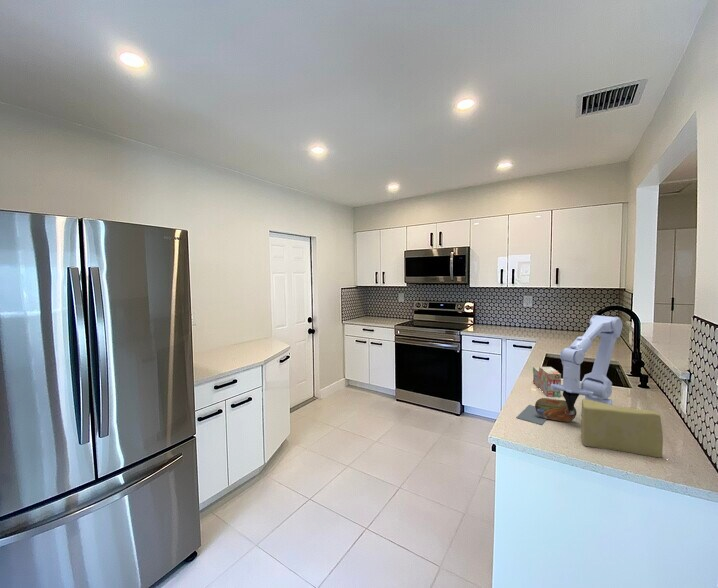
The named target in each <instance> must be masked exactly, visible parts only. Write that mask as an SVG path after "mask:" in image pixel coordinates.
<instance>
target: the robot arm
mask: <svg viewBox="0 0 718 588" xmlns="http://www.w3.org/2000/svg"><path fill="white" fill-rule="evenodd" d="M623 326H624V325H623V321H622V319H621V318H620V317H618V316H607V315H606V316H605V315H598V314H594V315H592V317H590V319H589V326H588V328H587V329H586V331H585V332H584V333H583V334H582V336H577V337H576V339H574V341H572V343H571V344H570V345H569V346H568V347H565V348H563V349H562V350H561V351H560V354H559V358H560V360H561V364H562V369H563V370H562V384H561V385H557V384H551V385H550V389H552V390H554V389H555V390H559V391H560V392H562V396H563V399H564V401H566V403H567V406H568V410H569V411H573V408H574V407H575V404H576V401H577V400H578V398H579V397H580V396H584V399H588V400H592V401H596V402H601V403H605V404H609V405H613V400H612V399H611V398H610V397H611V395H612V391H613V382H612V381H611V380H610V379H609V378H608V376H607V373H608V370H609V367H610V364H611V359H612V356H613V351H614V350H615V349H614V348H615V345H616V342H617V339H619V338H620V337H621V335H622V334H621V333H622V329H623ZM597 336H599V338H600V340H599V345H598V348H597V352H596V354H595V355H596V356H595V358H594V363H593V366H592V369H591V372H589V373H586V374H584V376H583V377H582V380H581V364H582V363H583V362H584V359H585V356H586V353H587V352H588V351H589V350H590V348H591V347H592V345H593V343H592V341H593V340H594V339H595V338H597Z"/></svg>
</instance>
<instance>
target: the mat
mask: <svg viewBox="0 0 718 588" xmlns="http://www.w3.org/2000/svg"><path fill="white" fill-rule="evenodd" d="M516 419H519V420H520V421H521V420H522V421H525V422H529V423H532V424H536V425H540V426H543V425H544V423H545V422H546V421H547V420H548V419H545V418H542V417H541V416H539V415H538V413H537V412H536V409H535V405H532V404H528V405H527V406H526V407H525V408H524V409H523V410H522V411H521V412H520V413H519V414H518V415H517V416H516Z"/></svg>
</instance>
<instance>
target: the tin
mask: <svg viewBox="0 0 718 588" xmlns="http://www.w3.org/2000/svg"><path fill="white" fill-rule="evenodd" d="M534 406H535V409H536V412H537V413H538V415H539V416H541V417H542V418H545V419H547V420H554V421H558V422H559V421H560V422H568V423H569V422H572V421H573V420H574V419H576V416H577V409H576V407H575V406H574V408H573V411H569V410H568V406H567V403H566V400H565V399H564V400H562V399H555V398H549V397H541V398H539V399H537V400H536V401H535V404H534Z"/></svg>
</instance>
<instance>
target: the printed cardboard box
mask: <svg viewBox="0 0 718 588" xmlns="http://www.w3.org/2000/svg"><path fill="white" fill-rule="evenodd" d="M532 373H533V375H532V376H533V379H532V383H533V382H534V383H535V384H534V383H533V384H534V385H535V386H536V387H537V388H538V389H539V388H540V389H541V390H542V391H543V392H542V391H541V390H540V389H539V390H540V391H541V392H542V393H543V395H545V396H546V398H549V397H550V398H561V393H562V391H559V390H555V389H554V390H552V389H550V385H551V384H557V385H562V373H560V372H559V370H556V369H555V368H554V367H552V366H537V367H536V366H535V367H532Z"/></svg>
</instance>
